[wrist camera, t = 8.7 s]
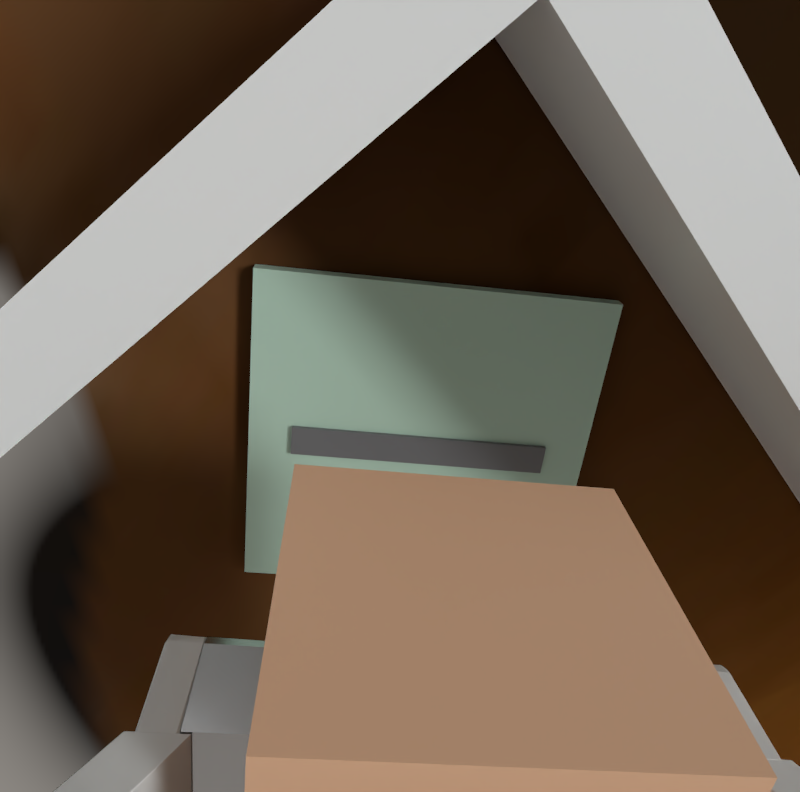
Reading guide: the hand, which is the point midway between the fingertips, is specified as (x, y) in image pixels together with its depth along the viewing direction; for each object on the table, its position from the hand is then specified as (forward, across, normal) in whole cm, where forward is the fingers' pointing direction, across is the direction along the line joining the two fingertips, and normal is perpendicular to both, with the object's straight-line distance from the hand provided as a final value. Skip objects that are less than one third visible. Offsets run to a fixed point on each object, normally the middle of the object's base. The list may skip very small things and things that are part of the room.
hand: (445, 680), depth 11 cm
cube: (+2, 0, 0) cm, 2 cm away
